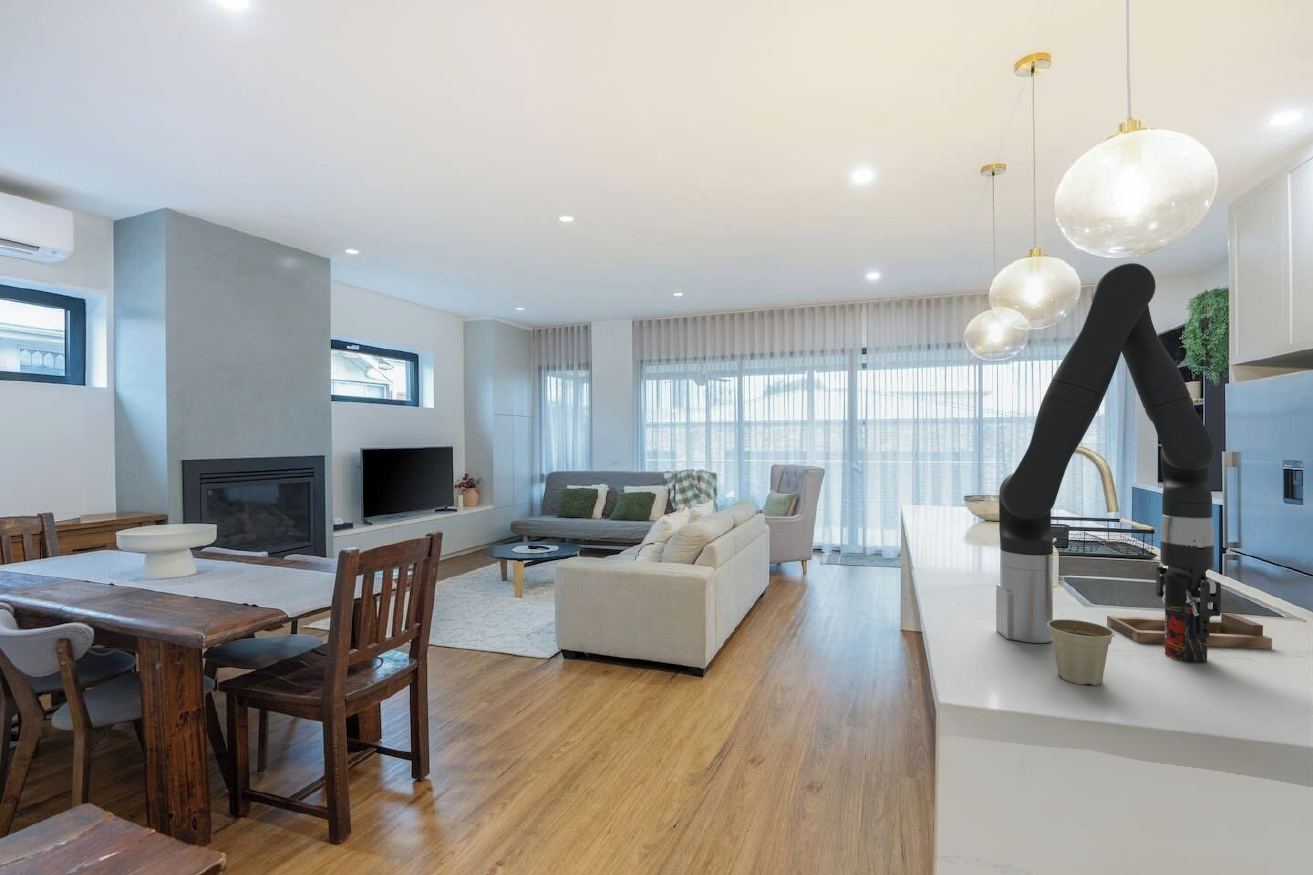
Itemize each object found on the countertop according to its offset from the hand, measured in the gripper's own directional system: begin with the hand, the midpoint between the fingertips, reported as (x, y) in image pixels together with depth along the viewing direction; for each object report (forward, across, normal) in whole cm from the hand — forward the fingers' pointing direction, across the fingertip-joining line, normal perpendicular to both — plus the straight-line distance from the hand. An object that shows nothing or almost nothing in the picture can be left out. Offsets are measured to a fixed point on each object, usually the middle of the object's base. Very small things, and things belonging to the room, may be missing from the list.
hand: (1186, 630), depth 115 cm
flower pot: (+5, +14, -24) cm, 28 cm away
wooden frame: (+5, -13, +7) cm, 16 cm away
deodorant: (+5, 0, 0) cm, 5 cm away
